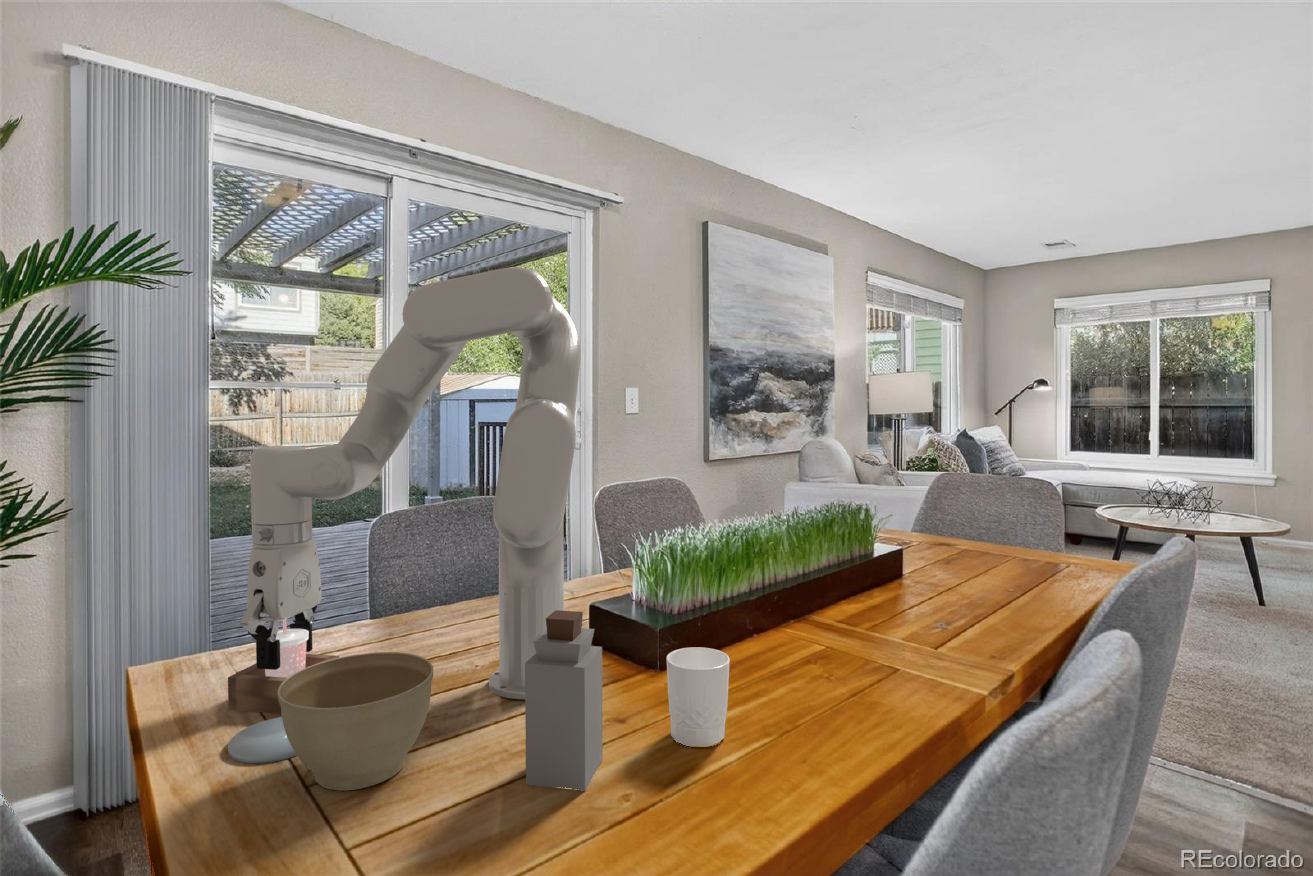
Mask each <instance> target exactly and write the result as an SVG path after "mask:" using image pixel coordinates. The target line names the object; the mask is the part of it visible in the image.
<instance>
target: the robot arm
mask: <svg viewBox="0 0 1313 876" xmlns="http://www.w3.org/2000/svg"><path fill="white" fill-rule="evenodd" d="M552 294H553V293H552V291H551V288H550V286H549V284H548V282H547V281H546V280H545V278H544V277H543V276H541V275H540V274H539V273H538V272H536V271H534V270H532V269H530V268H526V267H521V266H520V267H519V266H518V267H517V266H514V267H506V268H505V267H504V268H500V269H495V270H489V271H485V272H479V273H473V274H469V275H465V276H459V277H455V278H449V279H444V280H439V281H438V280H437V281H434V282H429V283H427V284H423V285H421V286H419V287H417V288H416V289H415V290H413V291H412V292H411V293H409V295H408V297H407V298H406V300H405V302H404V305H403V306H402V307H403V308H402V314H401V315H402V322H403V325H402V327H401V328H400V330H399V331H398V332H397V334H396V335H395V336H394V338H393V339H392V341H391V342H390V343H389V345H388V346H387V348H386V349H385V350H384V351H383V353H382V355H381V356H380V357H379V359H378V360H377V361H376V363H375V364H374V365H373V367H372V368H371V369H370V371H369V373H368V376H367V381H366V395H365V399H364V402H363V404H362V407H361V408H360V411H359V413H358V414H357V416H356V417H355V419H354V420H353V422H352V423H351V425H350V426H349V428H348V430H346V432H345V434H344V435H343V436H342V437H341V439H340V440H339V442H338V443H336V444H335V443H334V444H331V445H325V446H320V447H311V448H305V447H303V446H297V445H278V446H277V445H276V446H262V447H258V448H256V449H254V450H253V452H252V453H251V455H250V463H249V466H250V467H249V468H250V470H249V471H250V472H249V473H250V504H251V505H250V506H251V507H250V510H251V511H250V512H251V544H252V548H251V550H250V556H249V557H250V558H249V564H248V571H247V590H246V592H247V595H246V597H247V599H246V601H247V609H246V611H245V612H244V614H243V616H242V618H241V619H240V626H241V627H242V628H244V630H245V631H246V632H247V633H248V634H249V636H251V637H252V638H251V640H252V641H253V642H255V650H256V651H255V653H256V654H255V655H256V656H255V658H256V660H255V661H256V662H255V664H256V663H257V668H258V669H271V670H276V669H278V668H280V640H276V637H277V633H278V630H279V627H280V623H281V621H282V622H283V620H286V621H287V620H288V619H291V620H292V623H290V624H289V629H305V630H307V631H309V638H308V640H307V642H306V653H310V652H311V651H312V650H313V624H314V621H315V615H314V614H315V612H316V611H317V608H318V605H319V604H320V602H321V600H322V596H323V591H322V578H321V567H320V559H319V552H318V549H317V544H316V541H315V539H314V538H313V501H312V500H313V499H317V500H330V501H331V500H339V499H343V498H347V497H348V496H351V495H352V494H355V493H357V492H360V491H361V490H364V489H365V488H367V487H368V486H369V485H371V484H372V482H373V481H374V480H375V479H376V477H377V476H378V475H379V474H380V472H381V471H382V470H383V468H384V467H385V465H386V464H387V463H388V461H389V460H390V459H391V457H392V456H393V454H394V453H395V452H396V450H397V449H398V447H399V445H400V444H401V442H402V441H403V439H404V438H405V436H406V434H407V433H408V431H409V430H410V427H411V426H412V424H413V423H414V421H415V420H416V419H417V417H418V416H419V414H420V411H421V409H422V408H423V407H424V404H425V403H426V402H427V400H428V399H429V398H430V396H431V394H432V393H433V392H434V391H435V389H436V387H437V386H438V384H440V382H441V380H442V379H443V378H444V376H445V375H446V373H447V371H449V369H450V368H451V367H452V365H453V364H454V363H455V361H456V360H457V358H458V357H459V356H460V354H461V353H462V351H463V350H464V349H465V347H466V346H467V344H468V343H469V341H475V340H479V339H485V338H489V337H495V336H499V335H503V334H509V333H510V334H512V335H513V336H515V337H516V338H518V341H520V344H521V345H522V346H521V347H522V351H523V352H522V361H521V369H520V375H519V386H518V393H517V398H516V403H515V408H514V411H512V413H511V414H510V416H509V418H508V420H507V422H506V426H505V428H504V429H505V430H504V435H503V440H502V446H501V453H500V459H499V460H500V461H499V467H498V472H497V473H498V475H497V479H496V480H497V482H496V487H495V492H494V493H495V495H494V499H493V500H494V501H493V506H492V507H493V509H492V517H493V522H494V525H495V529H496V530H497V533H498V624H499V625H498V626H499V627H498V628H499V629H498V631H499V633H498V635H499V636H498V637H499V639H498V641H499V648H498V649H499V654H498V655H499V668H498V669H497V670H495V671H494V672H492V674H490V676H489V679H488V687H489V690H490V691H491V692H492V693H493V694H495V695H497V696H500V697H503V698H507V699H511V700H525V663H526V662H527V661H528V660H529V659H530V658H531V657H532V656H533V655H534V654H536V650H535V647H534V643H533V641H534V640H535V639H536V638H537V637H538V636H540V635H541V634H542V633H543V632H544V631H545V630H546V629H547V627H546V618H547V617H548V616H549V615H551V614H552V613H553V612H554V611H555V610H560V611H565V599H564V597H565V595H564V594H565V589H564V588H565V587H564V586H565V582H564V581H565V562H564V561H565V559H564V558H565V555H564V552H565V550H564V549H565V546H564V545H565V543H564V539H565V538H564V537H565V536H564V526H565V525H564V522H565V520H564V518H565V512H566V505H567V500H568V494H569V488H570V481H571V480H570V479H571V473H572V467H573V461H574V455H575V454H574V453H575V446H576V440H577V439H576V437H577V436H576V435H577V432H576V431H577V430H576V426H575V422H574V421H575V420H574V418H575V411H576V410H575V409H576V408H575V407H576V401H577V396H578V395H577V394H578V388H579V387H578V386H579V377H580V367H581V343H580V342H581V341H580V338H579V337H580V336H579V333H578V330H577V327H576V326H575V323H574V321H573V319H572V318H571V316H570V315H569V313H568V312H567V310H566V309H565V308H564V306H563V305H561V304H560V302H558V301H557V300H556V299H555V298H554V297H553V295H552ZM266 623H270V624H269V629H268V627H266V625H265V624H266Z"/></svg>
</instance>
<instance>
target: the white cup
mask: <svg viewBox="0 0 1313 876" xmlns="http://www.w3.org/2000/svg"><path fill="white" fill-rule="evenodd" d="M666 676H667V678H666V679H667V681H666V682H667V695H668V696H667V697H668V711H669V712H668V713H669V716H670V717H669V718H670V719H669V720H670V737H671V736H672V737H673V738H674V739H673V738H672V737H671V738H672V739H673V741H674V740H675V741H676V742H675V741H674V742H675V743H677V742H679V743H681V744H683V745H686V746H710V745H713V744H715V743H718V742H720V741H721V740H722V739H723V738H724V739H725V731H726V730H725V729H726V726H725V725H726V718H727V715H728V714H727V713H728V703H729V702H728V699H729V681H730V679H729V678H730V657H729V655H728V654H727V653H725V652H723V651H722V650H718V649H715V648H709V647H701V646H700V647H696V646H695V647H692V646H691V647H682V648H679V649H674V650H672V651H671V652H669V653H668V654H667V655H666ZM679 743H678V744H679ZM681 744H680V745H681ZM683 745H682V746H683ZM686 746H685V747H686Z"/></svg>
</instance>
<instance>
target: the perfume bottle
mask: <svg viewBox="0 0 1313 876" xmlns="http://www.w3.org/2000/svg"><path fill="white" fill-rule="evenodd" d="M583 612H584V611H577V610H576V611H573V610H572V611H571V610H564V611H560V610H555V611H554V612H553V613H552V614H551V615H549V616H548V617H547V618H546V627H547V629H546V630H545V631H544V632H543V633H542V634H541V635H540V636H538V637H537V638H536V639H535V640H534V641H533V643H534V647H535V650H536V654H534V655H533V656H532V657H531V658H530V659H529V660H528V661H527V662H526V663H525V699H524V700H525V706H524V708H525V710H524V711H525V719H524V720H525V785H526V786H532V785H534V787H541V786H542V788H543V786H544V788H550V787H561V788H562V787H563V788H565V787H566V788H572V789H577V790H578V789H579V790H583V791H582V792H586V791H587V789H588V788H587V787H589V786H590V784H591V782H592V780H593V779H592V777H593V775H594V774H595V775H596V773H597V772H596V770H597V768H598V766H599V765H600V766H601V764H602V763H601V761H602V760H603V755H604V753H603V748H604V747H603V646H600V645H599V646H596V645H595V646H594V645H592V642H593V637H594V634H595V630H596V629H595V628H585V627H584V628H583V627H582V625H583ZM602 762H603V761H602ZM600 763H601V764H600ZM600 766H599V767H600ZM598 769H599V768H598ZM597 771H598V770H597ZM595 772H596V773H595ZM595 775H594V776H595ZM593 778H594V777H593ZM591 779H592V780H591ZM590 781H591V782H590ZM589 783H590V784H589ZM535 785H536V786H535ZM588 785H589V786H588ZM586 788H587V789H586ZM585 790H586V791H585Z"/></svg>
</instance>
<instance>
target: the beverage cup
mask: <svg viewBox="0 0 1313 876" xmlns="http://www.w3.org/2000/svg"><path fill="white" fill-rule="evenodd" d="M287 627H288V625H287V619H286V620H282V629H278V633H277V637H276V640H280V668H278V669H276V670H271V669H265V674H266V676H271V677H287V678H288V677H290V676H291V675H293V674H294V673H296V672H298V671H300V670H302V669H304V668H305V664H306V654H307V652H306V642H307V640H308V638H309V631H307V630H305V629H290V628H287Z"/></svg>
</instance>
